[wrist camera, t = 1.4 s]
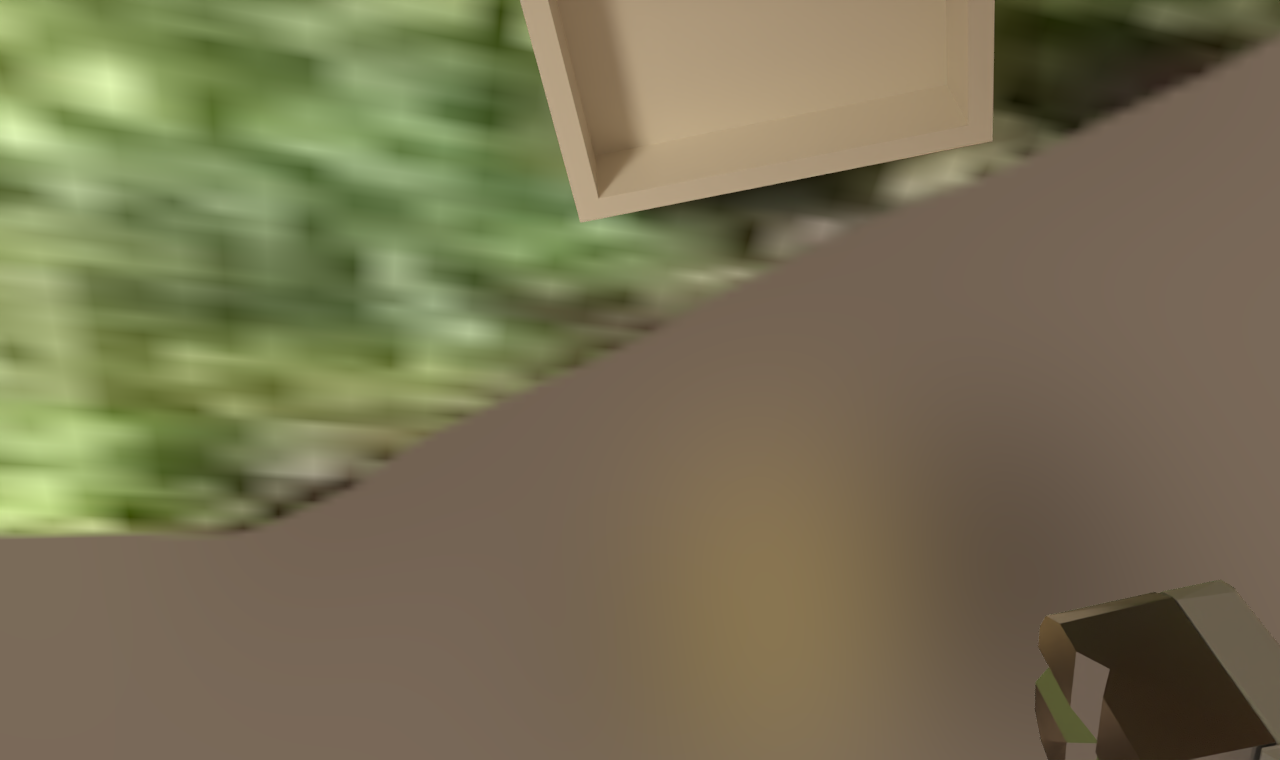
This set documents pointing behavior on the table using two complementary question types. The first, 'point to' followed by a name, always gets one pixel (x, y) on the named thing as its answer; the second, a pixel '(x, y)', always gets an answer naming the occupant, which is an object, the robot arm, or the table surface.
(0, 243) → the table surface
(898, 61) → the cream bin
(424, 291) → the table surface
